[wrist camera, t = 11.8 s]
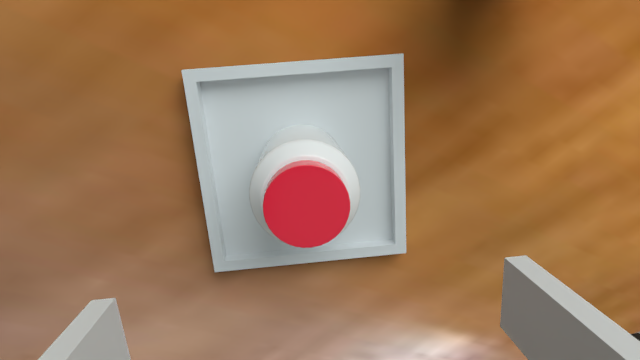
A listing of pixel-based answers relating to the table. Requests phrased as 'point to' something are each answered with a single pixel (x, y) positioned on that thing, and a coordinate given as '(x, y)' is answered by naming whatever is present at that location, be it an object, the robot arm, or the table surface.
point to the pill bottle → (304, 187)
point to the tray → (299, 109)
